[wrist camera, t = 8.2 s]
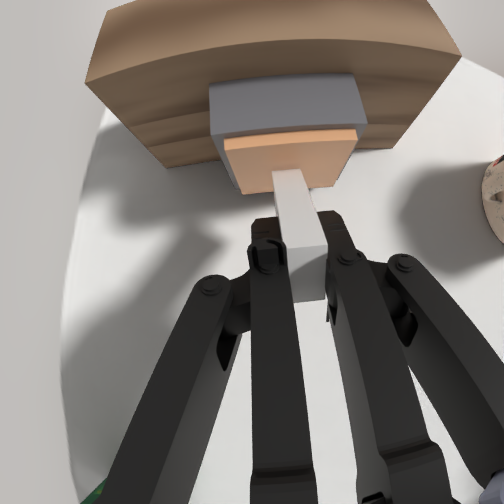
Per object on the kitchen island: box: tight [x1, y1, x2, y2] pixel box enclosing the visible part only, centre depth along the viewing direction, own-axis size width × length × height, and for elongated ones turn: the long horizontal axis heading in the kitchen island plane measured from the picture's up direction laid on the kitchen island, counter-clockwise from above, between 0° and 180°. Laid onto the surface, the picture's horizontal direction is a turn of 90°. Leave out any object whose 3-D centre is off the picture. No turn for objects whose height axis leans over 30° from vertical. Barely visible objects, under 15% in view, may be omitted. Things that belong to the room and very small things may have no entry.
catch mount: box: [85, 0, 462, 168], centre depth 16 cm, size 6×18×12 cm, turn 95°
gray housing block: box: [209, 73, 368, 195], centre depth 17 cm, size 9×7×8 cm
